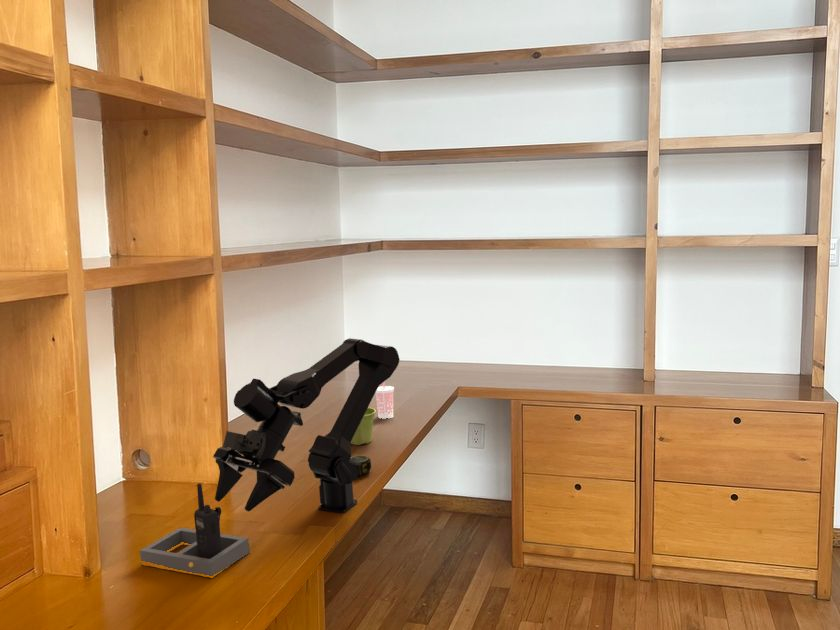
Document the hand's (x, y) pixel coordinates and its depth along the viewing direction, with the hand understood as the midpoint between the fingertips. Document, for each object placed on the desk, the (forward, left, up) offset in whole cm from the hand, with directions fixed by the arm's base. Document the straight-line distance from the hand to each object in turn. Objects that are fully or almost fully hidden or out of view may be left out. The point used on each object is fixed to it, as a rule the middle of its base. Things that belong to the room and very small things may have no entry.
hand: (231, 505), depth 149 cm
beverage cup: (+16, -94, -9) cm, 96 cm away
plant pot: (+10, -69, -9) cm, 70 cm away
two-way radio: (+1, +5, -9) cm, 10 cm away
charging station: (+5, +5, -9) cm, 12 cm away
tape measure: (-1, -46, -10) cm, 47 cm away
